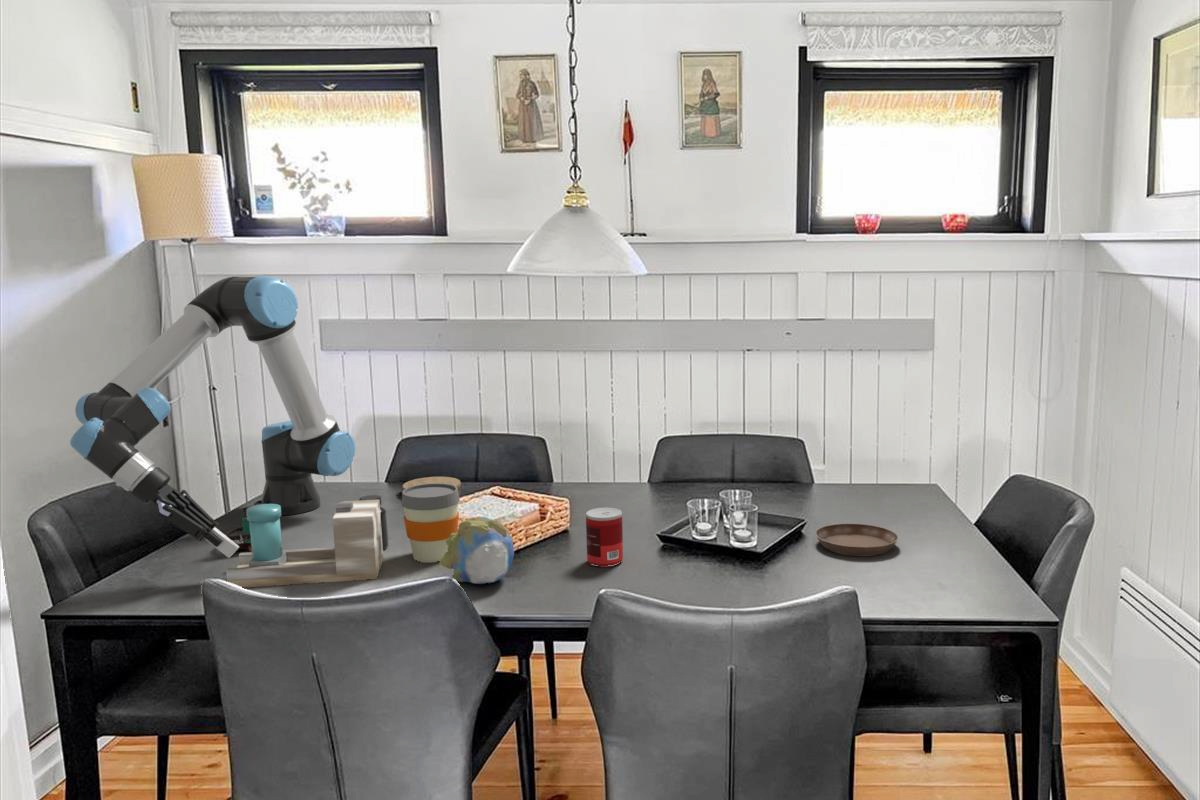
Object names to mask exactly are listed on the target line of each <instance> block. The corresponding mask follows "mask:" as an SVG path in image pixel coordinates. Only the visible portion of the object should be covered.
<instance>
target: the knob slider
mask: <svg viewBox="0 0 1200 800" xmlns="http://www.w3.org/2000/svg"><path fill="white" fill-rule="evenodd" d="M246 508H247V509H246V513H247V520H248V521H249V524H250V535H251V546H252V557H253V558H252V559H251V561H250V562H249V567H259V566H276V565H284V564H285V563H286V561H287V556H286V550H287V549H283V543H282V531H281V519H280V518H281V517H282V515H281V506H280V505H278V504H261V505H255V506H254V505H252V506H250V507H246Z"/></svg>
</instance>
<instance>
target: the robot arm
mask: <svg viewBox="0 0 1200 800" xmlns="http://www.w3.org/2000/svg"><path fill="white" fill-rule="evenodd" d="M298 304H299V303H298V299H297V295H296V293H295V291H294V289H293V288H292V287H291V286H290V284H288V282H286V281H284V280H283V279H280V278H278V277H271V276H266V275H260V276H228V277H224V278H222V279H220V280H218V281H216V282H214V283H213V284H211V285H210V286H208V287H207V288H206V289H204V290H203V291H202V292H200V293H199V294H198V295H197V296H195V297H194V298H193V299H192V300H191V301H190V302H189V303H188V304H186V306H184V308H183V314H182V315H181V316H180V317H179V318H178V319H177V320H176V321H175V322H173V323H172V324H171V325H170V326H169V327H168V328H167V329H166V330H165V331H164V332H162V334H160V335H159V336H158V337H157V338H156V339H155V340H154V341H152V343H151V344H149V345H148V346H147V347H146V348H145V349H143V351H142V352H141V353H139V355H137V356H136V357H135V358H134V359H133V360H132V361H131V362H130V363H128V365H127V366H125V367H124V369H122V370H121V371H119V373H118V374H117V375H116V376H114V377H113V378H112V379H111V380H110V381H109V382H108V383H107V384H106V385H105V386H103V388H101V389H100V390H99V391H98V392H89V393H86V394H84V395H82V396H81V397H80V398H79V399H78V400H77V402H76V405H75V409H74V410H75V415H76V418H77V421H78V422H80V423H81V424H82V425H81V427H79V428H78V430H76V431H75V432H74V433H73V435H72V436H71V438H70V441H69V444H70V446H71V447H72V448H73V449H74V451H75V452H77V453H78V454H79V455H80V456H81V457H82V458H83V459H84V460H86V461H88V462H89V463H90V464H92V466H94V467H95V468H97V469H98V470H100V472H102V473H103V474H105V475H106V476H107V477H108V478H110V480H112V481H113V482H114V483H115V486H117V487H121V488H122V489H123V490H125V491H126V492H130V491H131V492H130V494H131V496H132V497H133V498H134V499H135V500H136V501H138V502H139V503H141V504H142V505H147V504H148V503H150V502H151V503H152V504H153V505H154V506H155V507H156V508H157V509H158V511H157V512H156V515H157V516H158V517H160V518H162V519H164V520H166V521H168V522H170V523H171V524H173V525H174V526H176V527H177V528H178V529H180V530H182V531H184V532H186V533H187V534H189V535H190V537H193V538H194V539H196V540H198V541H199V542H202V541H203V540H206V541H207V542H208V543H209V544H210V545H212V546H213V547H214V548H216V550H218V551H219V552H220V553H222V554H223V555H224V556H226V557H227V558H228V559H230V558H231V557H232V555H234V553H236V552H237V551H238V550H237V549H238V548H239V546H238V545H237V544H238V543H235V542H234V540H231V539H229V538H228V537H227V536H226V534H225V533H223V532H222V531H220V529H218V528H217V527H216V526H217V525H218V522H217V521H215V519H213V517H211V516H210V515H209V514H208V513H207V511H205V509H204V508H203V507H201V506H200V505H199V503H197V502H196V501H195V500H194V499H193V498H192V496H190V494H189V493H188V492H187V491H186V490H185V489H182V490H181V491H179V490H177V488H175V487H172V486H170V485H169V484H168V483H169V482H170V480H171V476H170V475H169V474H168V473H167V472H166V471H164V470H163V469H162V468H160V467H159V466H157V467H155V462H153V461H152V460H151V459H150V458H148V457H147V456H146V455H144V454H143V453H142V452H141V451H140V450H138V449H136V448H135V446H137V445H138V444H139V443H140V442H141V440H143V439H144V438H145V437H146V436H148V434H150V433H151V432H152V431H153V430H154V429H155V428H156V427H157V426H159V425H160V424H162V422H163V421H164V420H165V418H166V417H167V416H169V414H170V413H171V404H170V402H169V401H168V399H167V398H166V397H165V395H163V394H162V393H161V392H160V391H158V390H157V389H156V388H157V387H159V385H160V384H161V383H162V382H163V381H164V380H165V379H166V378H167V377H168V376H170V374H172V373H173V372H174V371H175V370H176V369H177V368H178V367H179V366H180V365H181V364H182V363H183V362H184V361H185V360H186V359H187V358H188V357H189V356H190V355H192V354H193V353H194V352H195V351H196V350H197V349H198V348H199V347H200V346H201V345H202V344H203V343H205V342H206V340H207V339H208V338H216V337H217V336H218V335H219V334H221V332H223V331H224V330H225V329H228V328H231V327H235V326H236V327H238V326H239V327H242V329H243V331H244V334H245V335H246V337H247V340H248V341H249V342H251V343H254V344H256V345H257V346H258V348H259V352H260V353H261V356H262V357H263V359H264V361H265V365H266V366H267V370H268V371H269V374H270V376H271V378H272V380H273V383H274V385H275V387H276V390H277V392H278V394H279V396H280V399H281V401H282V403H283V406H284V408H285V410H286V413H287V415H288V418H289V419H290V420H286V421H281V422H277V423H272V424H267V425H265V426H264V427H263V428H262V430H261V447H262V449H261V450H262V457H263V467H264V477H265V479H264V480H265V483H264V487H263V491H262V493H261V494H262V495H261V499H260V500H263V502H264V504H278V505H280V506H281V516H289V515H298V514H303V513H306V512H309V511H315V510H316V509H317V508H320V507H321V504H322V503H321V496H320V493H319V491H318V488H317V486H316V484H315V482H314V479H313V476H312V475H318V476H323V477H337V476H338V477H339V476H340V475H342V474H345V472H346V471H347V470H348V469H349V468H350V467H351V465H352V463H353V461H354V457H355V455H356V442H355V438H353V436H352V434H351V433H349V432H347V431H345V430H341V429H340V426H339V424H338V422H337V420H336V418H335V416H333V415H331V414H328V413H327V412H326V411H327V410H326V409H325V407H324V404H323V402H322V400H321V399H322V398H321V397H320V395H319V392H318V389H317V387H316V385H315V383H314V380H313V378H312V375H311V372H310V371H309V368H308V366H307V363H306V360H305V358H304V357H303V354H302V351H301V349H300V346H299V344H298V342H297V339H296V336H295V334H294V330H295V328H296V325H297V322H296V320H295V319H296V317H297V314H298V311H297V309H299V305H298Z"/></svg>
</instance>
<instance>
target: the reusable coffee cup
mask: <svg viewBox="0 0 1200 800" xmlns="http://www.w3.org/2000/svg"><path fill="white" fill-rule="evenodd" d="M459 495H460V494H458V488H457V487H456V486H454V485H451V484H443V483H431V484H421V485H416V486H412V487H409V488H406V489H405V490H403V489H402V492H401V506H402V507H403V511H404V515H403V520H404V525H405V530H406V531H405V532H406V537H407V538H408V539H409V543H410V547H411V551H412V552H411V553H412V557H413V559H414V561H416V560H417V562H419V561H420V562H419V563H438V562H437V561H440V558H442V557H444V554H445V552H448V547H449V546H448V545H447V543H446V540H447V539H448V538H449V537H450V535H451V533H456V532H457V530H458V528H459V519H460V518H459V517H460V512H459V511H458V506H459V503H460V496H459Z"/></svg>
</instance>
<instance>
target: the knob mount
mask: <svg viewBox="0 0 1200 800" xmlns="http://www.w3.org/2000/svg"><path fill="white" fill-rule="evenodd" d="M335 506H336V507H335V513H334V515H333V516H332V527H333V528H332V529H333V543H334V547H331V546H330V547H320V548H319V547H318V548H317V547H316V548H298V549H285V550H286V556H287V561H286V563H285V564H284V565H276V566H259V567H249V562H250V561H251V559H252V558H253V557H252V552H251V551H249V552H247V551H246V552H239V554H238V562H239V564H238V565H237V567H229V568H227V569H226V571H225V573H226V581H228V582H231V583H234V584H237V585H239V586H242V587H244V588H256V587H257V588H258V587H274V585H276V586H291V585H290V584H292V585H304V584H303V583H308V584H319V582H320V583H321V582H324V583H335V582H338V583H339V582H350V581H351V582H354V581H355V580H356V581H368V580H367V579H371V580H378V577H377V576H379V574H378V573H380V571H379V570H381V567H382V563H383V561H384V550H383V545H382V530H381V515H380V499H379V500H361V501H360V500H347V501H346V500H344V501H341V502H338V503H337V504H336V505H335ZM353 580H354V581H353ZM356 581H355V582H356Z"/></svg>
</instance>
